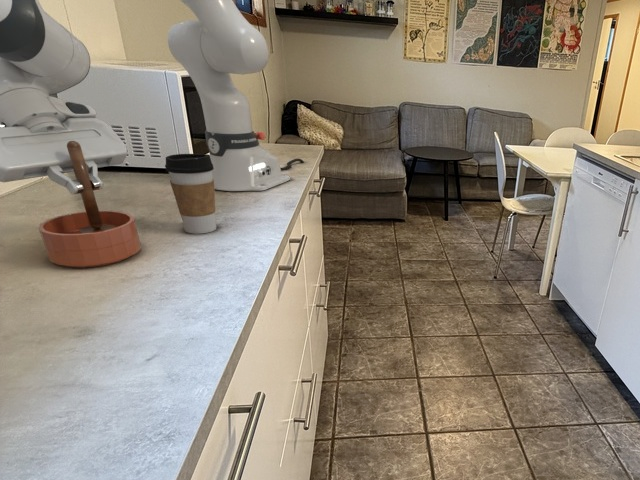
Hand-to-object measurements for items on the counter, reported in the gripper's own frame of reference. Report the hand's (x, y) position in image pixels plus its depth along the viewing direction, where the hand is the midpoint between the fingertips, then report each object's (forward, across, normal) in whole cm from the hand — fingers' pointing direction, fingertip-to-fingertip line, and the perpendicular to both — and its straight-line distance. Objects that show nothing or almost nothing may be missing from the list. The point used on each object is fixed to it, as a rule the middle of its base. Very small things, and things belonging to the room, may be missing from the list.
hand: (88, 189), depth 79 cm
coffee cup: (+10, +18, +6) cm, 21 cm away
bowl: (+8, -1, +8) cm, 11 cm away
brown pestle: (+6, 0, +7) cm, 9 cm away
